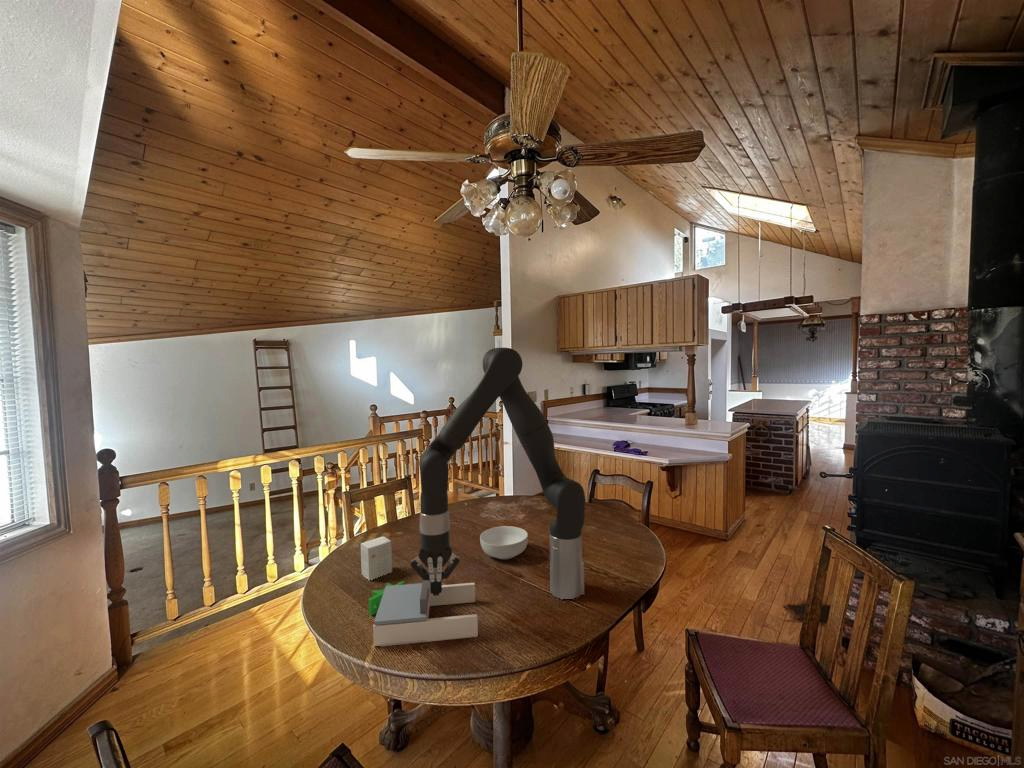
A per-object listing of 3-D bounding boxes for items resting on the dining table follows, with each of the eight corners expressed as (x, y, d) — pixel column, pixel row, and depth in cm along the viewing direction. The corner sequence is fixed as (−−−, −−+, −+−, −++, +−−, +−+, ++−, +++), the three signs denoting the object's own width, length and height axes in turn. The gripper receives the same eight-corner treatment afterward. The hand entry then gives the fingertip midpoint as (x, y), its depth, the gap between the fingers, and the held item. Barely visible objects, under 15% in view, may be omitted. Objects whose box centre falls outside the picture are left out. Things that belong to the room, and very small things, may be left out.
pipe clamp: (396, 593, 120) (396, 578, 120) (405, 597, 118) (404, 582, 118) (362, 612, 111) (362, 595, 111) (371, 616, 109) (370, 599, 109)
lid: (430, 585, 114) (429, 570, 114) (426, 620, 98) (425, 602, 98) (385, 589, 112) (385, 573, 112) (374, 625, 96) (373, 607, 96)
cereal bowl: (505, 540, 156) (505, 521, 155) (538, 553, 144) (537, 534, 144) (470, 554, 144) (470, 535, 144) (502, 571, 132) (502, 549, 132)
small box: (384, 566, 136) (383, 535, 136) (392, 572, 132) (391, 540, 132) (361, 575, 130) (360, 543, 130) (368, 581, 126) (367, 548, 126)
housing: (474, 599, 116) (474, 582, 115) (477, 636, 100) (477, 616, 99) (385, 608, 112) (384, 590, 112) (373, 647, 96) (373, 626, 96)
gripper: (460, 521, 110) (461, 584, 110) (410, 524, 108) (411, 588, 109) (460, 532, 102) (462, 599, 103) (406, 535, 101) (408, 604, 101)
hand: (436, 594), depth 106 cm, fingers closed
